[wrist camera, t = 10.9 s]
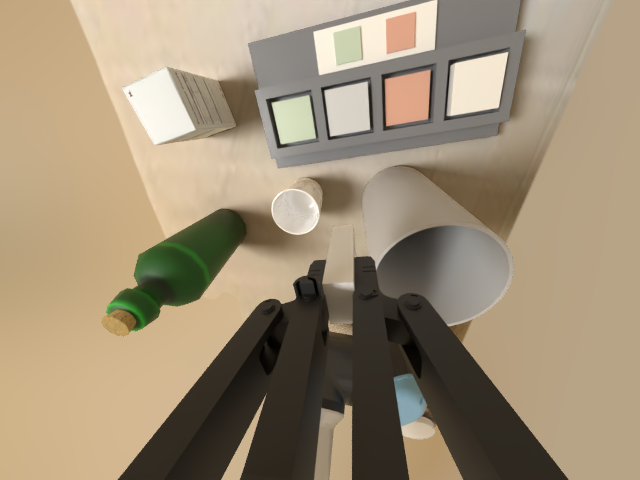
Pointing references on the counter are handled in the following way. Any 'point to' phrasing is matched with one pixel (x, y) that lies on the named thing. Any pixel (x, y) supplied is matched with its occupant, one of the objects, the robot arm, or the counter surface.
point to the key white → (476, 84)
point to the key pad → (386, 73)
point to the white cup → (298, 206)
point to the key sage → (295, 119)
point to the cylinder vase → (432, 246)
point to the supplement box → (179, 106)
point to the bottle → (176, 271)
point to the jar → (420, 427)
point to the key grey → (348, 109)
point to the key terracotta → (406, 98)
